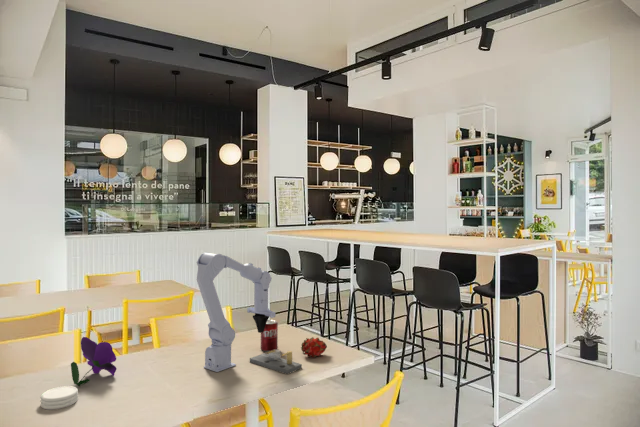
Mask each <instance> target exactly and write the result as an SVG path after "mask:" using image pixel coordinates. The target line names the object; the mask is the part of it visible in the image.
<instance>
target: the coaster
mask: <svg viewBox="0 0 640 427" xmlns="http://www.w3.org/2000/svg"><path fill="white" fill-rule="evenodd" d="M78 392H79V390H78V387H76V386H71V385H65V386H64V385H63V386H62V385H61V386H57V387H53V388H50V389H48V390H45V391H44V392H43V393H42V394H41V395H40V401H39V402H40V407H41V409H44V410H52V411H53V410H59V409H64V408H67V407H68V408H69V407H70V406H72V405H73V404H74V405H75V403H76V402H78V399H79V393H78Z"/></svg>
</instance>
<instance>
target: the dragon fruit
mask: <svg viewBox="0 0 640 427" xmlns="http://www.w3.org/2000/svg"><path fill="white" fill-rule="evenodd" d="M327 348H328V346H327V343H326V342H325V341H323V340H320V338H319V337H316V338H314V337H313V336H312V337H311V338H308V337H306V339H305V340H303V342H302V343H301V347H300V349H301V351H302V354H303V355H305V356H307V357H308V356H309V357H308V358H310V357H312V358H314V357H315V358H316V357H320V356H319V355H321V354H323V353H324V352H325V351H326V349H327Z"/></svg>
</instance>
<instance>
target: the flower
mask: <svg viewBox="0 0 640 427" xmlns="http://www.w3.org/2000/svg"><path fill="white" fill-rule="evenodd" d="M80 348H81V352H82V356H83V358H85V359H86V360H87V363H86V364H87V365H88V366H90V367H91V369H89V370H88V371H87V372H85V374H84V376H82V378H81V380H80V371H79V366H78V365H77V362H75V361H72V362H71V363H70V369H71V376H72V377H71V378H72V382H73V384H74V385H77V386H79V387H80V386H81V385H84V384H86V383H87V384H88V383H89V382H90V381H91V379H90V378H89V379H88V378H85V377H86V375H87V374H89V373H90V372H91V371H92V372H93V374H100V373H101V371H102V370H105V371H107V372H108V373H109V374H110V375H111V376H113V377H114V376H115V373H116V372H117V366H115V365H114V364H113V363H114V362H116V360H117V356H116V353H115V352H114V351H113V347H112V345H111V343H109V342H107V341H102V342H99V343H97V342H95V341H94V340H92V339H90V338H88V337H87V336H83V337H81V340H80ZM84 378H85V379H84Z"/></svg>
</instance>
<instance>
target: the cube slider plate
mask: <svg viewBox="0 0 640 427" xmlns="http://www.w3.org/2000/svg"><path fill="white" fill-rule="evenodd" d="M283 356H286V359H285V358H282V357H283ZM249 363H251V364H254V365H257V366H261V367H264V368H267V369H270V370H273V371H277V372H279V373H282V372H283V374H285V373H286V374H285V375H289V374H291V373H294V372H296V371H298V370H300V369H299V368H301V369H302V366H303V365H302V363H299V362H295V361H293V351H292V350H290V351H289V350H287V351H286V352H285V353H283V354H281V358H280V359H278V360H275V361H273V360H270V359H269V354H267V353H266V352H264V353H260V354H259V355H256V356H253V357H250V358H249ZM297 369H298V370H297ZM295 370H296V371H295ZM293 371H294V372H293ZM290 372H291V373H290ZM288 373H289V374H288Z"/></svg>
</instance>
